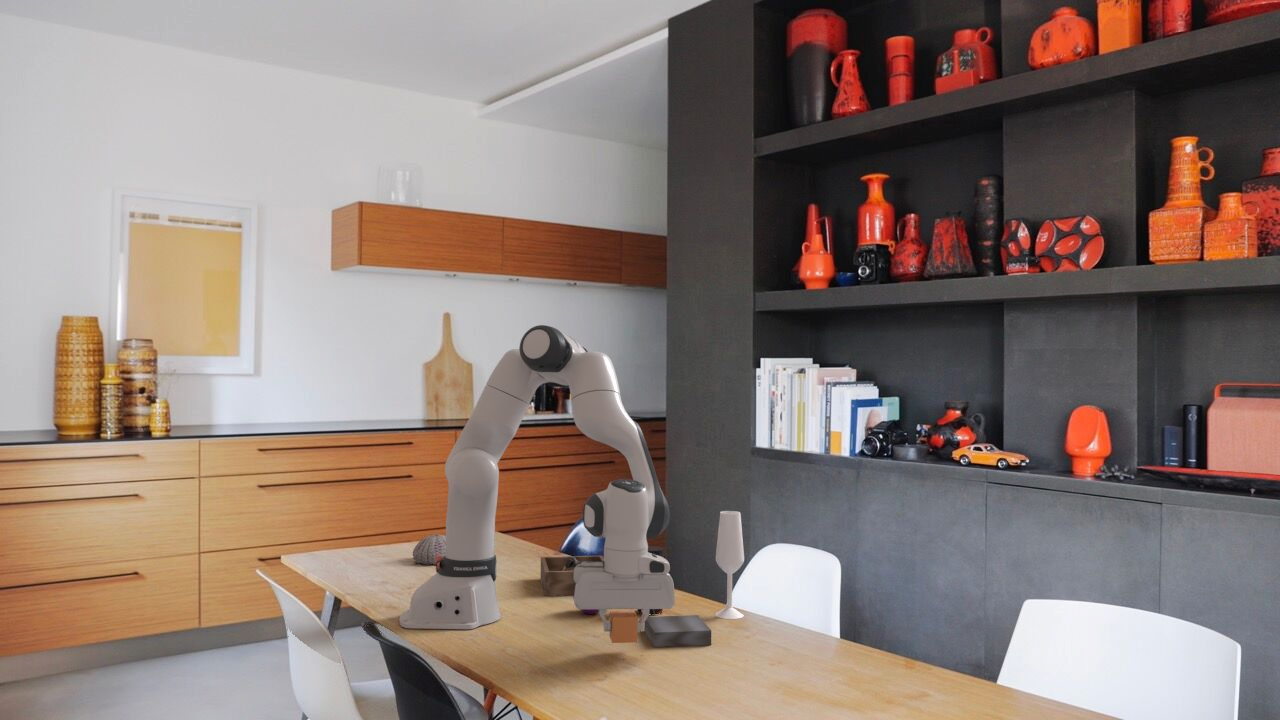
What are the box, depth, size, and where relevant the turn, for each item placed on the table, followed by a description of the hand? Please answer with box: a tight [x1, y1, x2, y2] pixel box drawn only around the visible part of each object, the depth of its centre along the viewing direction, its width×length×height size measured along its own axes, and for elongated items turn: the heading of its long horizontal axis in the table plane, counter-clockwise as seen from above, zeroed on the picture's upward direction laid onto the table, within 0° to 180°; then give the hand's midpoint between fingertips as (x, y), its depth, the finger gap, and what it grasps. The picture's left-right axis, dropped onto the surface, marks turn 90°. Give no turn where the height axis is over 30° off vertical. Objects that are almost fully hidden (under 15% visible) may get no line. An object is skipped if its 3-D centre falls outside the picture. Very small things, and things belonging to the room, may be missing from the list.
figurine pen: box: [540, 555, 604, 597], centre depth 237 cm, size 17×19×6 cm
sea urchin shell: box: [412, 534, 446, 565], centre depth 266 cm, size 13×14×8 cm
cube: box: [608, 610, 639, 644], centre depth 180 cm, size 5×5×5 cm
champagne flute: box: [715, 510, 745, 620], centre depth 210 cm, size 7×7×24 cm
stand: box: [643, 614, 712, 648], centre depth 192 cm, size 12×12×3 cm
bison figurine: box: [561, 557, 591, 571], centre depth 238 cm, size 12×7×10 cm
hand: (623, 630), depth 180 cm, fingers closed on cube, 5 cm apart
